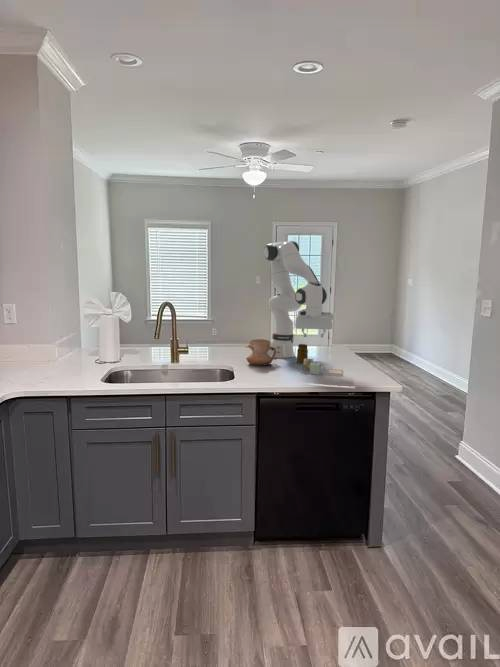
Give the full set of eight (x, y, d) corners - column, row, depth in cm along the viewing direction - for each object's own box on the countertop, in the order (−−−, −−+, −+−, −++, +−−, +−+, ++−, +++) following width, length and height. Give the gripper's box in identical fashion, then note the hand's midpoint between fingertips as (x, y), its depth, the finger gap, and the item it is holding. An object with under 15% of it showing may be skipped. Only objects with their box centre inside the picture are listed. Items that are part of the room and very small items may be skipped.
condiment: (303, 363, 258) (304, 343, 256) (311, 366, 250) (312, 345, 248) (293, 364, 255) (294, 344, 253) (301, 367, 247) (302, 346, 245)
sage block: (309, 373, 229) (310, 364, 228) (310, 371, 233) (310, 362, 233) (319, 374, 228) (319, 365, 227) (319, 372, 233) (319, 363, 232)
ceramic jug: (243, 366, 245) (244, 342, 243) (246, 361, 259) (247, 337, 257) (275, 368, 243) (276, 343, 241) (276, 362, 257) (277, 339, 255)
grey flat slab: (300, 375, 229) (300, 373, 228) (303, 368, 243) (303, 366, 243) (343, 378, 224) (343, 376, 224) (342, 371, 239) (343, 369, 239)
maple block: (303, 369, 238) (303, 360, 237) (304, 367, 243) (304, 358, 242) (312, 369, 237) (312, 361, 236) (312, 367, 242) (313, 359, 241)
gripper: (332, 311, 238) (332, 336, 240) (295, 311, 240) (295, 335, 242) (333, 312, 231) (333, 338, 233) (295, 312, 234) (295, 337, 236)
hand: (313, 337), depth 238 cm, fingers open, 8 cm apart
